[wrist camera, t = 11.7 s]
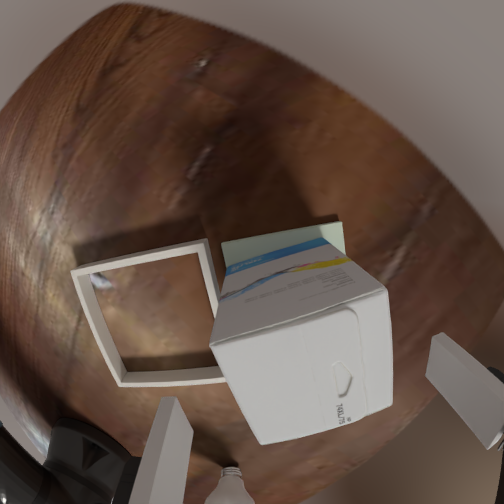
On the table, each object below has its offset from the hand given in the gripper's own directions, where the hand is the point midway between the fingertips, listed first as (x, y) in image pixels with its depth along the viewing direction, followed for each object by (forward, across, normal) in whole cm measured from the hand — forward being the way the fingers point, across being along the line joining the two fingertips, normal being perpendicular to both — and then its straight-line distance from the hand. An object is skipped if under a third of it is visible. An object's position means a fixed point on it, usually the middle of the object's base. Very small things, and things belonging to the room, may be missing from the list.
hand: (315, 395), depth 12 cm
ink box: (+12, +1, 0) cm, 12 cm away
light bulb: (+13, -10, -26) cm, 31 cm away
